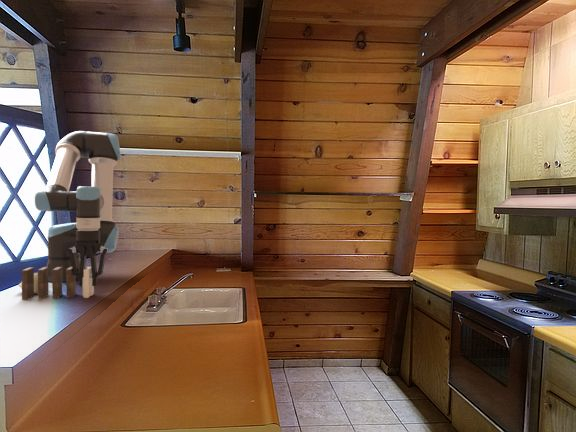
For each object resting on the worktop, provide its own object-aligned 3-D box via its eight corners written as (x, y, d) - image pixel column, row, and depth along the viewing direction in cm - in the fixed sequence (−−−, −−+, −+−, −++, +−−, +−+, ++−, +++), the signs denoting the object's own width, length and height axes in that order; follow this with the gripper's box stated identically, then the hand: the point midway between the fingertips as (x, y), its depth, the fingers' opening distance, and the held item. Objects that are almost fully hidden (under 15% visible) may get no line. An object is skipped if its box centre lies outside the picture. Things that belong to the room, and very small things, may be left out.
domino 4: (66, 297, 135) (65, 269, 134) (71, 294, 140) (70, 266, 139) (71, 297, 135) (71, 269, 135) (76, 293, 140) (75, 266, 139)
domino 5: (83, 297, 136) (83, 269, 135) (87, 294, 140) (87, 266, 140) (88, 297, 136) (88, 269, 135) (92, 293, 141) (92, 266, 140)
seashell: (43, 281, 148) (52, 273, 144) (37, 302, 143) (46, 295, 139) (19, 276, 142) (28, 268, 138) (12, 297, 137) (21, 290, 133)
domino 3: (52, 298, 134) (52, 269, 133) (57, 294, 139) (57, 266, 138) (57, 298, 134) (57, 269, 134) (62, 294, 139) (62, 266, 138)
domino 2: (37, 298, 133) (37, 269, 132) (43, 294, 138) (43, 267, 137) (43, 298, 133) (42, 269, 132) (48, 294, 138) (48, 267, 137)
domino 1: (22, 299, 131) (21, 270, 131) (28, 295, 136) (28, 267, 135) (27, 299, 132) (26, 270, 131) (33, 295, 136) (33, 267, 136)
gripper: (61, 230, 132) (62, 298, 133) (108, 230, 135) (108, 296, 137) (69, 228, 139) (69, 292, 140) (112, 228, 143) (112, 291, 144)
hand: (88, 294), depth 138 cm, fingers closed on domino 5, 2 cm apart
